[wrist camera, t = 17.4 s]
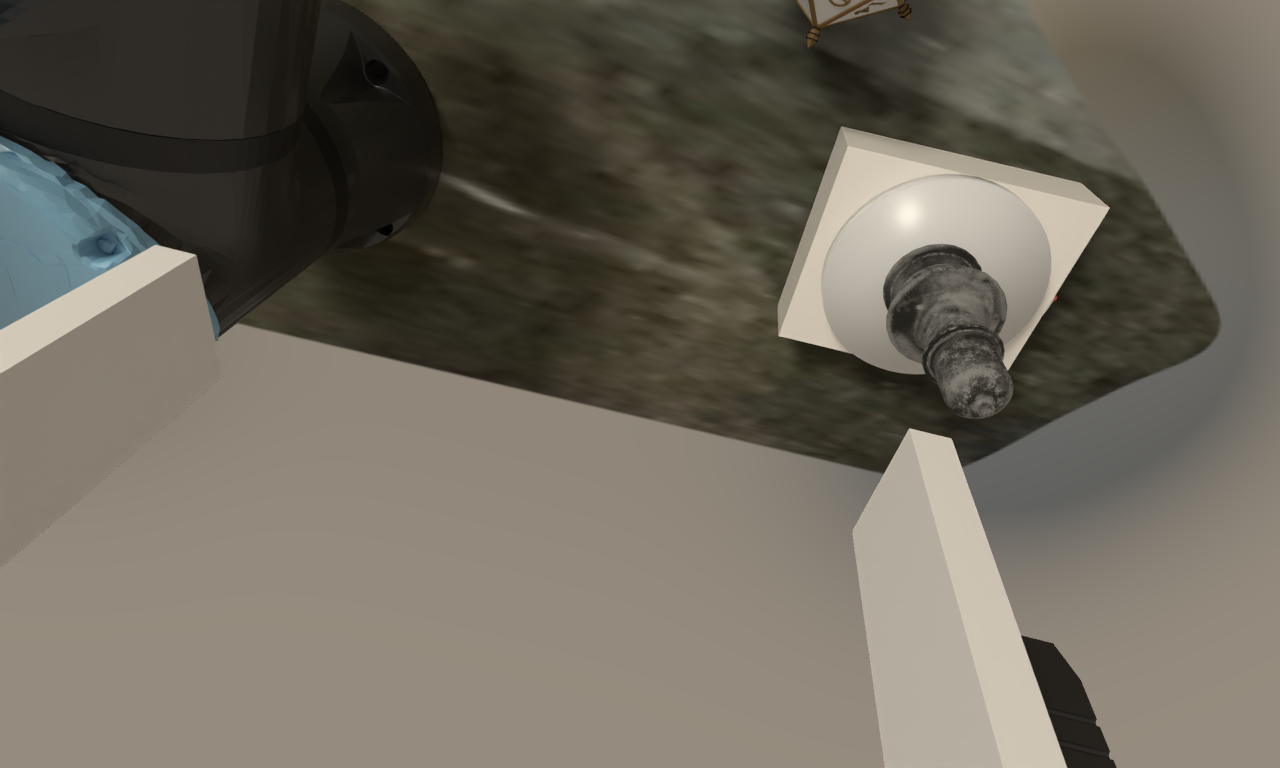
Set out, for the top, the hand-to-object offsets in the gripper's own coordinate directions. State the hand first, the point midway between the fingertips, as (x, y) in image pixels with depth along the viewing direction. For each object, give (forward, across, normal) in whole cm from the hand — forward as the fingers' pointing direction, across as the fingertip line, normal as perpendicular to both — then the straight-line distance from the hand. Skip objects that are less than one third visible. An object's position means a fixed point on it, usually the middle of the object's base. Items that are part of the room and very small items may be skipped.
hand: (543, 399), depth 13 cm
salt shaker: (+27, +16, -7) cm, 32 cm away
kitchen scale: (+32, +16, -7) cm, 36 cm away
